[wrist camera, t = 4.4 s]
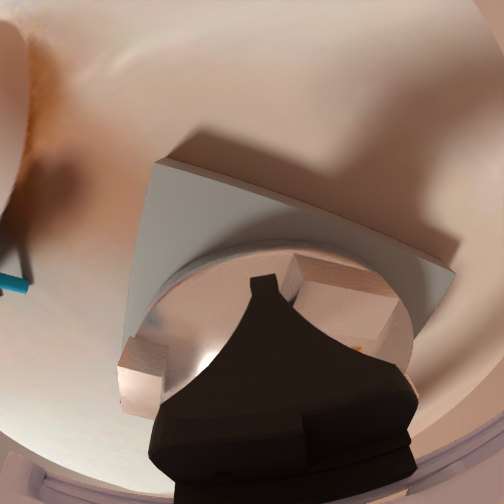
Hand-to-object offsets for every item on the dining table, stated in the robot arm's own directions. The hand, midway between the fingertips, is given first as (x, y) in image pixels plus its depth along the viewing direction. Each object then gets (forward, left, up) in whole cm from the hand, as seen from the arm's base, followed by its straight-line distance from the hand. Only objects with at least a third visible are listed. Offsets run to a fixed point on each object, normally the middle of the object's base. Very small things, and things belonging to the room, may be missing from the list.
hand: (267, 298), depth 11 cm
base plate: (-6, -3, -5) cm, 9 cm away
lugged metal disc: (-6, -3, -3) cm, 7 cm away
